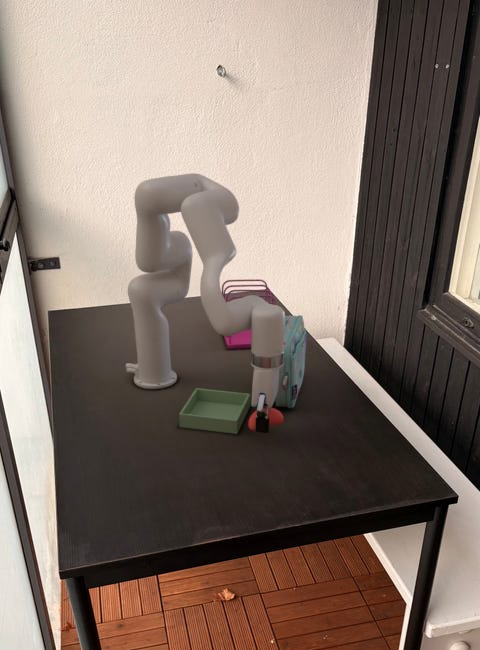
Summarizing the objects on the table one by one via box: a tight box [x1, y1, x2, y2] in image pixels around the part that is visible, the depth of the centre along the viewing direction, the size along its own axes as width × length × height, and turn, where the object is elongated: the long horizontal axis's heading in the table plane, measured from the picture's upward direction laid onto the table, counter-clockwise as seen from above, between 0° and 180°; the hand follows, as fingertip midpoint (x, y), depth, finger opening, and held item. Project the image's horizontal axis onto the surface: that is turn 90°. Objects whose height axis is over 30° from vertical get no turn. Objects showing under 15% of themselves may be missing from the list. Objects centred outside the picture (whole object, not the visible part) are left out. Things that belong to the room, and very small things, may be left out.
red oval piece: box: [248, 408, 284, 433], centre depth 159 cm, size 5×9×6 cm, turn 110°
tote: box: [178, 387, 251, 435], centre depth 170 cm, size 15×15×4 cm
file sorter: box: [221, 278, 278, 350], centre depth 217 cm, size 17×25×16 cm
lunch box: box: [274, 314, 307, 409], centre depth 177 cm, size 27×10×21 cm, turn 168°
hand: (265, 423), depth 159 cm, fingers closed on red oval piece, 7 cm apart
